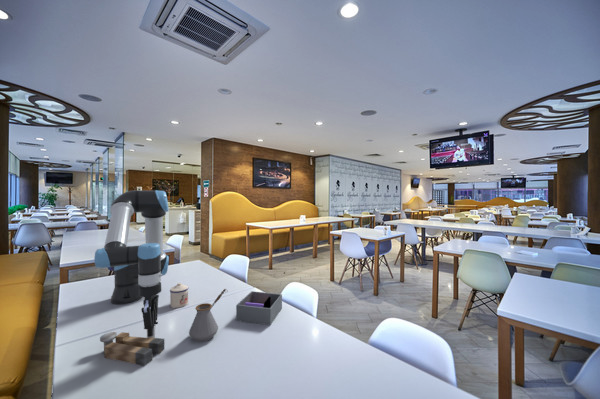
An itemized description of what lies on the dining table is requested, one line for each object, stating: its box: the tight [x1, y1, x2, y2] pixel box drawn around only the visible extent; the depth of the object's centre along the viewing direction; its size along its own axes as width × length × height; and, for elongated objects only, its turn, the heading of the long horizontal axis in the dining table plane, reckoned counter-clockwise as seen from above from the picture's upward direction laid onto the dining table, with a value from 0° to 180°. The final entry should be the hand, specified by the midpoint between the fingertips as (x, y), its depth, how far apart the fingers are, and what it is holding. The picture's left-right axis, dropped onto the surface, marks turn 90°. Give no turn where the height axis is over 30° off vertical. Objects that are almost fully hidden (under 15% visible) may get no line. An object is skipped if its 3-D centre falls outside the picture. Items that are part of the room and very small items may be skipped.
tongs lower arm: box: [103, 339, 153, 367], centre depth 92 cm, size 22×5×4 cm, turn 76°
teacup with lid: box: [169, 282, 189, 309], centre depth 137 cm, size 12×9×12 cm
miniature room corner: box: [245, 297, 271, 308], centre depth 127 cm, size 12×12×7 cm
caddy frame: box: [235, 290, 283, 326], centre depth 125 cm, size 17×17×8 cm
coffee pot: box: [188, 288, 228, 343], centre depth 110 cm, size 21×12×15 cm, turn 161°
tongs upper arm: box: [99, 331, 165, 355], centre depth 95 cm, size 23×6×6 cm, turn 83°
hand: (151, 342), depth 98 cm, fingers closed
